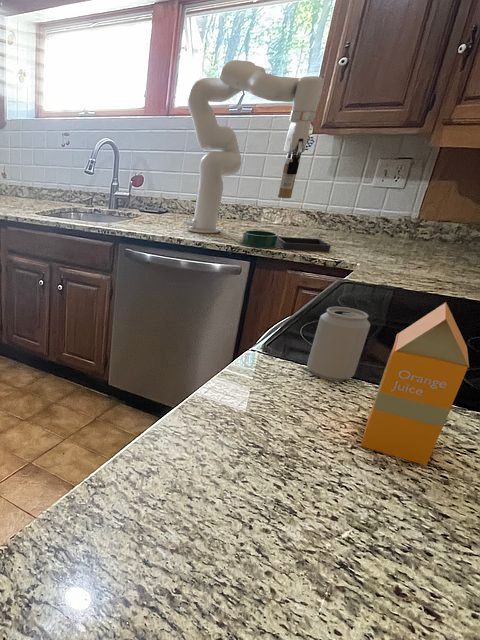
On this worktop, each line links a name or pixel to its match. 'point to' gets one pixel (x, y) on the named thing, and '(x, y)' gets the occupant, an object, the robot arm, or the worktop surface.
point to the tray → (303, 244)
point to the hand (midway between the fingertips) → (289, 173)
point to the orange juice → (418, 388)
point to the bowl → (259, 239)
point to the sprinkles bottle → (286, 182)
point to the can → (338, 343)
